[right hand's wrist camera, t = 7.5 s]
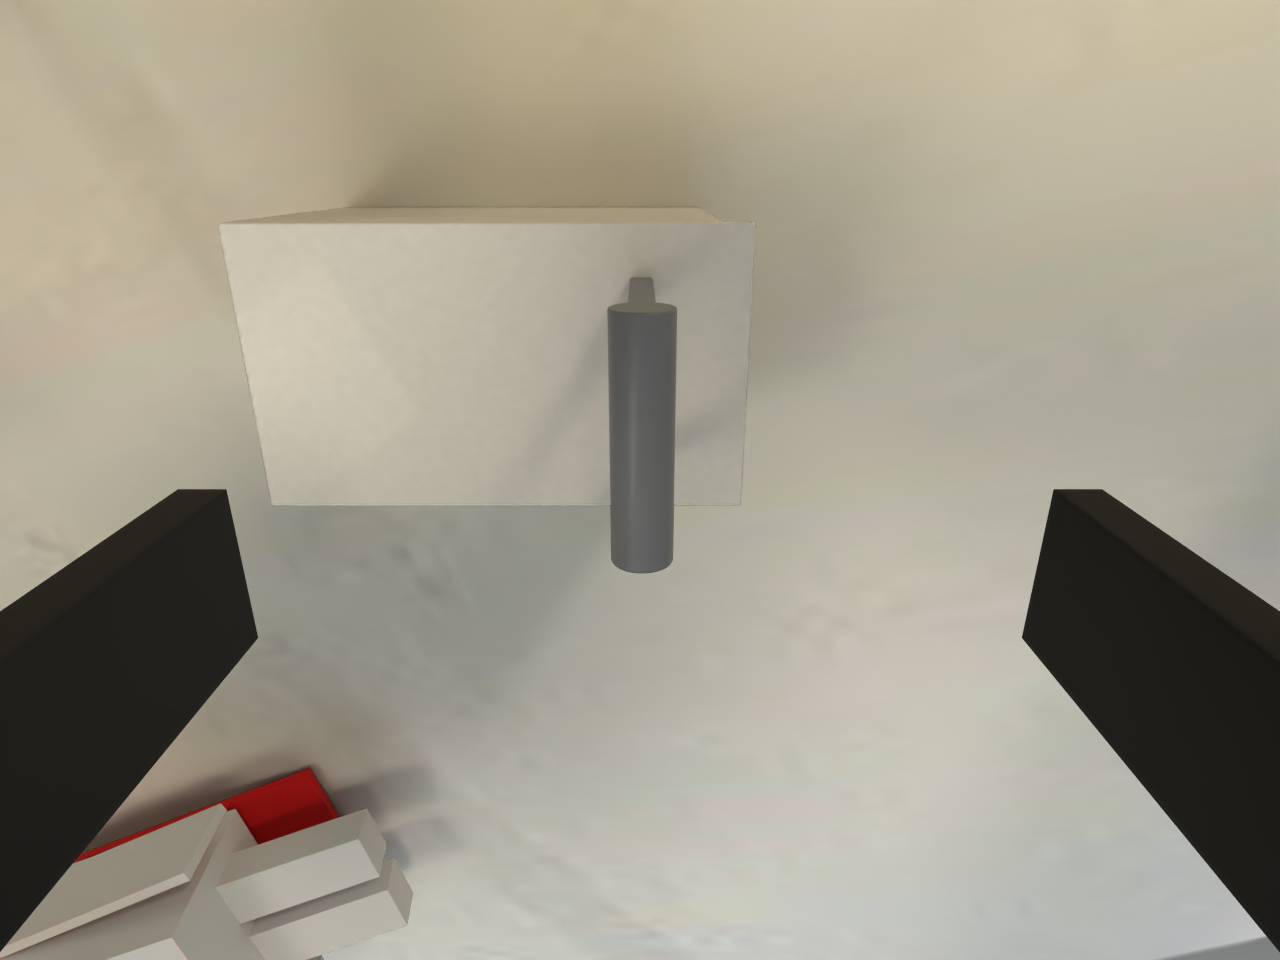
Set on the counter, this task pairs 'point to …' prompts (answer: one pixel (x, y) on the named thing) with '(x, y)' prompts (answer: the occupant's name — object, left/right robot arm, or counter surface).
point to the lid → (500, 365)
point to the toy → (226, 886)
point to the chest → (499, 214)
